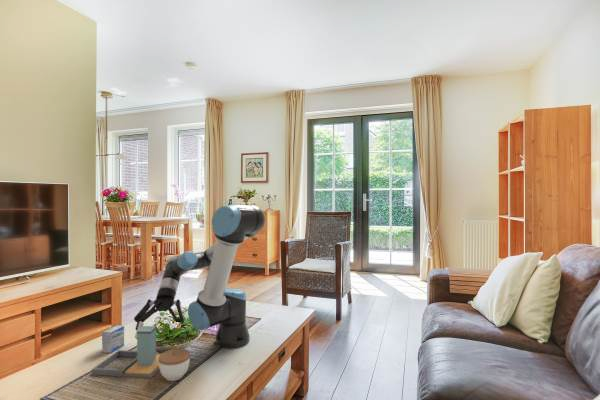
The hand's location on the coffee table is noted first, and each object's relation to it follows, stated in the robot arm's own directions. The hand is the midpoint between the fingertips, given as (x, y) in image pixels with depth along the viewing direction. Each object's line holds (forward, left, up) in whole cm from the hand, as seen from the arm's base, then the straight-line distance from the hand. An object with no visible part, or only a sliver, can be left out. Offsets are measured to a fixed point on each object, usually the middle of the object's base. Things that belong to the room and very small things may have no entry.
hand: (153, 338), depth 137 cm
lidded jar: (-15, +13, -8) cm, 21 cm away
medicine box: (+21, -6, -8) cm, 23 cm away
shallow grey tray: (+10, +7, -8) cm, 14 cm away
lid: (-2, +7, -8) cm, 11 cm away
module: (-1, +7, -6) cm, 9 cm away
